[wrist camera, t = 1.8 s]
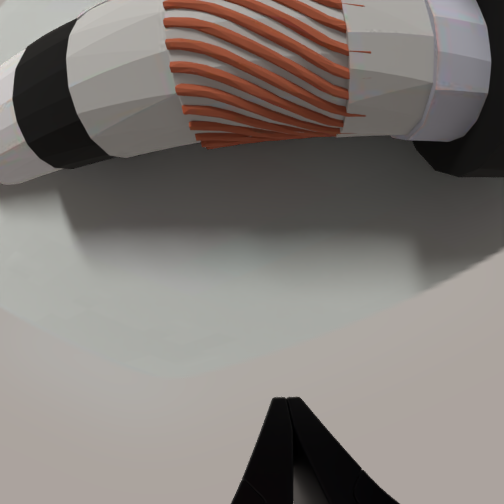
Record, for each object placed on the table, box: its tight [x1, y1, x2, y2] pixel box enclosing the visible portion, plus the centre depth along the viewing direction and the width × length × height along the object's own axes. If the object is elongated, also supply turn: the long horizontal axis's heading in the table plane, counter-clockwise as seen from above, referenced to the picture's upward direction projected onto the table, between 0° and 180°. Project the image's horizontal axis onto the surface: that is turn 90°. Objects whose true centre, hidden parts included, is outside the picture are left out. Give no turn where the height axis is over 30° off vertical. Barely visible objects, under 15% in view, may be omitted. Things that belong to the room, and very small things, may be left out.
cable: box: [0, 0, 504, 185], centre depth 9 cm, size 10×34×10 cm, turn 97°
